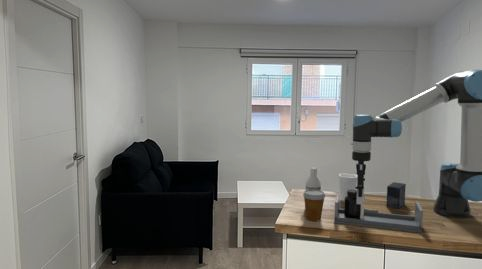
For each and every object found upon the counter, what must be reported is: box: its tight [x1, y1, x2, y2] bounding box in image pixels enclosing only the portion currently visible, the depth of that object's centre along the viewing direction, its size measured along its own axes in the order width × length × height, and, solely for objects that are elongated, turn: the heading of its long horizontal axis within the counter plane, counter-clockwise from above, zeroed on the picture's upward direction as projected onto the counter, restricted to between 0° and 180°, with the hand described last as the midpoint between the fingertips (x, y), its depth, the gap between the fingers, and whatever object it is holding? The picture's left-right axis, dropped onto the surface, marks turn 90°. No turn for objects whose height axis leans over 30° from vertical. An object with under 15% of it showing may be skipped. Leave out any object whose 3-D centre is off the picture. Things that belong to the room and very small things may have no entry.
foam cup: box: [337, 172, 358, 203], centre depth 191 cm, size 10×9×13 cm
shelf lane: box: [333, 194, 424, 234], centre depth 160 cm, size 34×14×9 cm, turn 72°
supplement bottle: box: [343, 189, 361, 219], centre depth 163 cm, size 7×7×12 cm
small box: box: [386, 182, 407, 210], centre depth 183 cm, size 11×6×10 cm, turn 143°
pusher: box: [360, 199, 379, 219], centre depth 161 cm, size 7×10×7 cm
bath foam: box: [305, 166, 322, 191], centre depth 175 cm, size 7×7×20 cm
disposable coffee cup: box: [302, 189, 326, 222], centre depth 163 cm, size 10×10×12 cm
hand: (359, 199), depth 162 cm, fingers open, 13 cm apart
